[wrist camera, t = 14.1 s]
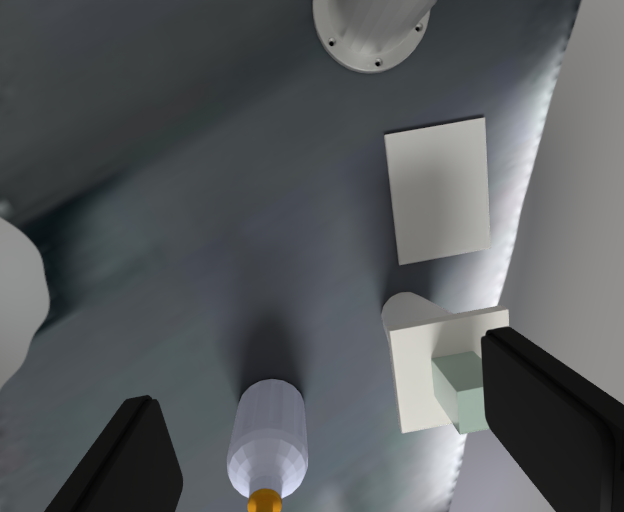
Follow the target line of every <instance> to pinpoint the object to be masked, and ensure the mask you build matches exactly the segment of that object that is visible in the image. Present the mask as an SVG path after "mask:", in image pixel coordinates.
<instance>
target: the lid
mask: <svg viewBox="0 0 624 512" xmlns="http://www.w3.org/2000/svg"><path fill="white" fill-rule="evenodd" d="M506 326H509V317H508V309H507V308H505V307H503V306H502V305H501V306H495V307H490V308H484V309H479V310H474V311H468V312H463V313H457V314H452V315H447V316H441V317H436V318H430V319H425V320H420V321H414V322H409V323H403V324H398V325H393V326H387V334H388V342H389V350H390V358H391V366H392V374H393V382H394V390H395V398H396V406H397V415H398V423H399V427H400V430H401V432H402V433H406V432H412V431H417V430H422V429H427V428H432V427H437V426H442V425H448V424H453V425H454V426H455V428H456V429H457V431H458V432H459V434H465V433H470V432H475V431H480V430H486V429H490V428H489V426H488V424H487V422H486V418H485V410H484V392H483V375H482V357H481V337H482V336H485V334H486V331H487V330H490V329H495V328H500V327H506Z"/></svg>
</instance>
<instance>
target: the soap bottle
mask: <svg viewBox="0 0 624 512" xmlns="http://www.w3.org/2000/svg"><path fill="white" fill-rule="evenodd" d="M307 468H308V450H307V435H306V421H305V406H304V401H303V399H302V396H301V394H300V392H299V391H298V390H297V389H296V388H295V387H294V386H293V385H291V384H289V383H287V382H285V381H283V380H277V379H268V380H262V381H259V382H257V383H255V384H253V385H251V386H250V387H249V388H248V389H247V390H246V391H245V392H244V393H243V394H242V397H241V399H240V402H239V405H238V409H237V414H236V419H235V423H234V428H233V432H232V437H231V442H230V446H229V451H228V456H227V471H228V475H229V478H230V480H231V482H232V484H233V486H234V488H235V489H236V490H238V491H239V492H240V493H241V494H242V495H243V496H246V497H248V511H249V512H280V510H281V504H282V498H283V497H285V496H287V495H289V494H291V493H292V492H293V491H294V490H295V489H296V488H298V487H299V486H300V484H301V482H302V480H303V478H304V475H305V473H306V470H307Z"/></svg>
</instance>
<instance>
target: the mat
mask: <svg viewBox="0 0 624 512" xmlns="http://www.w3.org/2000/svg"><path fill="white" fill-rule="evenodd" d="M384 139H385V148H386V157H387V165H388V174H389V183H390V192H391V201H392V209H393V218H394V227H395V236H396V245H397V253H398V262H399V265H404V264H409V263H415V262H420V261H425V260H431V259H436V258H442V257H447V256H452V255H458V254H463V253H469V252H474V251H479V250H485V249H490V248H491V242H490V220H489V198H488V176H487V153H486V131H485V118H479V119H473V120H468V121H462V122H456V123H450V124H445V125H439V126H433V127H428V128H422V129H416V130H410V131H405V132H399V133H393V134H388V135H384Z"/></svg>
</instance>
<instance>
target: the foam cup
mask: <svg viewBox="0 0 624 512" xmlns="http://www.w3.org/2000/svg"><path fill="white" fill-rule="evenodd" d="M452 314H453V313H451V312H449V311H447V310H445V309H443V308H442V307H440V306H438V305H436V304H434V303H432V302H430V301H429V300H427V299H425V298H423V297H421V296H419V295H417V294H414V293H412V292H400V293H398V294H396V295H394V296H392V297H390V298H389V300H388V301H387V302H386V303H385V304H384V306H383V310H382V314H381V318H382V322H383V326H384V329H385V332H386V336H387V339H388V334H387V326H393V325H398V324H403V323H409V322H414V321H420V320H425V319H430V318H436V317H441V316H447V315H452Z"/></svg>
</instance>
